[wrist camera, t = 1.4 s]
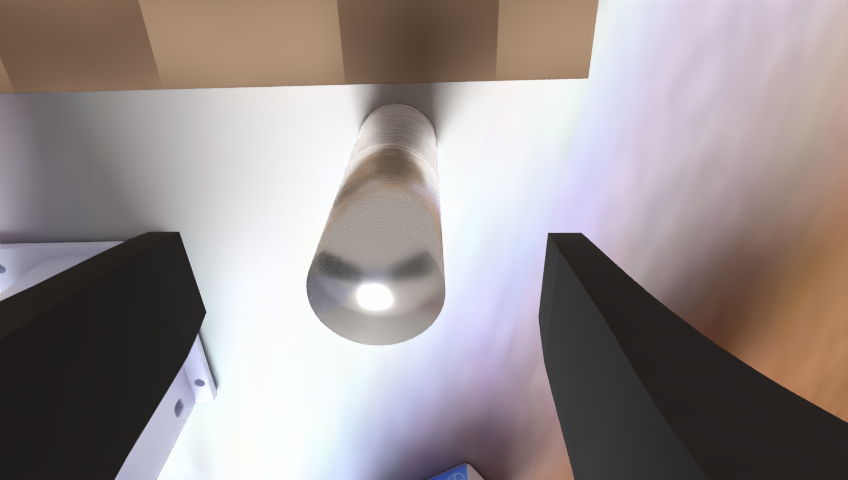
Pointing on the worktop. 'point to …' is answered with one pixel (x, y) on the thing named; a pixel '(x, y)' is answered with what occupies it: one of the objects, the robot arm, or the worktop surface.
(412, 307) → the steel peg
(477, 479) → the medicine box
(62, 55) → the hole block
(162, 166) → the worktop surface
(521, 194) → the worktop surface
